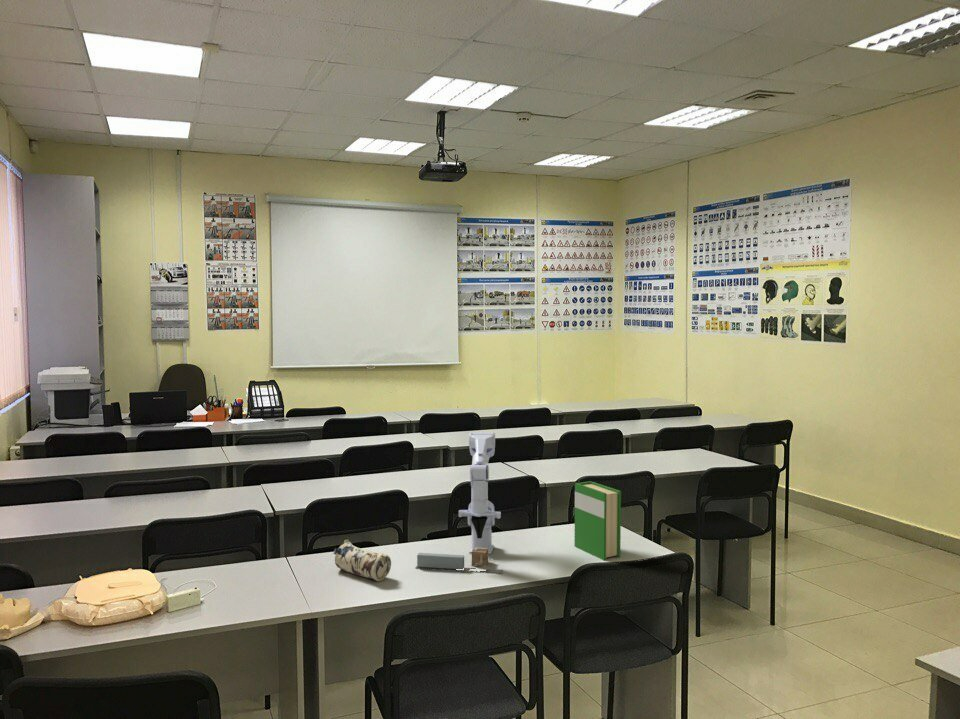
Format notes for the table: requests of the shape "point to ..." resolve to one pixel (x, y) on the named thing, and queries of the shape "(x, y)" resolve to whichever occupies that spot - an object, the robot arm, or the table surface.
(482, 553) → the walnut letter block
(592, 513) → the hardback book
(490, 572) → the metal track
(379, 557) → the pencil case
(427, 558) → the slate screen
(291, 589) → the table surface
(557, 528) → the table surface
